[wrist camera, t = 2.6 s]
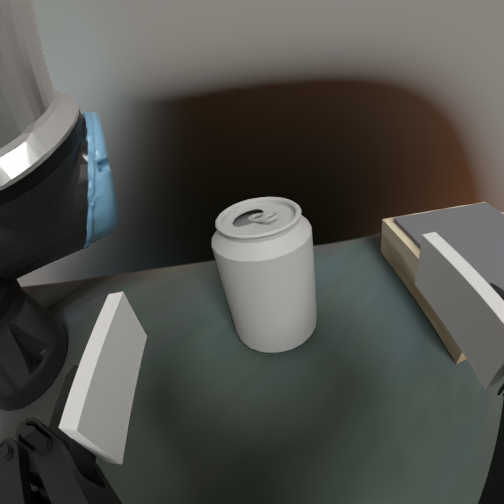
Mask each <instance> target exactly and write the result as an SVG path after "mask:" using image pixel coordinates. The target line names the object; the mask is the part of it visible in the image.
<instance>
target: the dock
mask: <svg viewBox="0 0 504 504" xmlns="http://www.w3.org/2000/svg"><path fill="white" fill-rule="evenodd" d="M432 232H436V233H437V234H438V235H439V236H440V237H442V238H443V239H444V240H445V241H446V242H447V243H448V244H449V245H450V246H451V247H452V248H453V249H454V250H455V251H457V252H458V253H459V254H460V255H461V256H462V257H463V258H464V259H465V260H466V261H467V262H468V263H469V264H470V265H471V266H472V267H473V268H474V269H475V270H476V271H477V272H478V273H479V274H480V275H481V276H482V278H483V279H484V280H485V281H486V282H487V283H488V284H490V283H493V284H495V285H496V286H498V287H500V288H501V289H502V290H503V291H504V215H503V214H502V213H501V212H499V211H498V210H496V209H495V208H494V207H492V206H491V205H489V204H488V203H486V202H482V203H476V204H469V205H464V206H458V207H451V208H445V209H440V210H434V211H428V212H422V213H416V214H411V215H404V216H398V217H393V218H387V219H383V220H382V236H381V251H380V252H381V253H382V255H383V256H384V257H385V258H386V260H387V261H388V262H389V264H390V265H391V266H392V268H393V269H394V271H395V272H396V273H397V275H398V276H399V277H400V279H401V280H402V282H403V283H404V284H405V286H406V287H407V289H408V290H409V291H410V293H411V294H412V296H413V297H414V299H415V300H416V302H417V303H418V304H419V306H420V307H421V309H422V310H423V312H424V313H425V315H426V316H427V318H428V319H429V321H430V322H431V324H432V326H433V327H434V329H435V330H436V332H437V333H438V335H439V337H440V338H441V340H442V341H443V343H444V345H445V346H446V348H447V350H448V351H449V353H450V354H451V356H452V358H453V360H454V361H455V363H456V364H458V363H460V362H462V361H464V360H466V357H465V355H464V354H463V352H462V351H461V349H460V348H459V346H458V344H457V343H456V341H455V340H454V338H453V337H452V335H451V334H450V332H449V331H448V330H447V328H446V327H445V325H444V324H443V322H442V321H441V319H440V318H439V317H438V315H437V314H436V312H435V311H434V309H433V308H432V307H431V305H430V304H429V303H428V301H427V300H426V299H425V297H424V296H423V294H422V293H421V292H420V290H419V289H418V288H417V286H416V285H415V279H416V273H417V267H418V261H419V254H420V247H421V239H422V234H427V233H432Z"/></svg>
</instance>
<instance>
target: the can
mask: <svg viewBox="0 0 504 504" xmlns="http://www.w3.org/2000/svg"><path fill="white" fill-rule="evenodd" d="M216 228H217V231H216V233H215V234H214V236H213V237H212V249H213V252H214V256H215V259H216V263H217V267H218V270H219V274H220V277H221V281H222V284H223V288H224V291H225V295H226V298H227V301H228V305H229V308H230V311H231V315H232V318H233V322H234V325H235V328H236V331H237V334H238V336H239V337H240V339H241V341H242V342H243V343H244V344H246V345H247V346H248V347H250V348H252V349H255V350H258V351H261V352H269V353H278V352H283V351H287V350H291V349H293V348H295V347H297V346H299V345H301V344H302V343H304V342H305V341H306V340H307V339H308V338H309V337H310V336H311V335H312V333H313V331H314V329H315V327H316V292H315V272H314V256H313V241H312V228H311V225H310V223H309V222H308V220H307V219H306V218H304V217H303V216H302V215H301V209H300V207H299V206H298V204H296V203H295V202H293V201H291V200H288V199H285V198H279V197H262V198H255V199H249V200H246V201H242V202H239V203H237V204H234V205H232V206H231V207H229V208H227V209H226V210H224V211H223V212H222V213H221V214H220V215H219V216H218V218H217V219H216Z"/></svg>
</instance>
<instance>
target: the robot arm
mask: <svg viewBox="0 0 504 504" xmlns="http://www.w3.org/2000/svg"><path fill="white" fill-rule="evenodd" d="M108 163H109V160H108V156H107V148H106V143H105V138H104V134H103V129H102V124H101V120H100V117H99V115H98V114H97V113H96V112H90V113H89V112H87V113H86V112H84V113H83V114H82V115H81V113H80V110H79V106H78V103H77V101H76V100H75V99H74V97H72V96H70V95H68V94H65V93H61V92H57V91H55V90H54V89H53V87H52V83H51V80H50V76H49V73H48V69H47V66H46V62H45V58H44V54H43V50H42V46H41V42H40V37H39V33H38V28H37V23H36V18H35V13H34V7H33V1H32V0H0V409H3V410H15V409H19V408H22V407H24V406H26V405H28V404H30V403H31V402H33V401H34V400H35V399H37V398H38V397H39V396H40V395H41V394H42V393H43V392H44V391H45V390H46V389H47V388H48V387H49V386H50V384H51V383H52V382H53V380H54V379H55V377H56V376H57V374H58V372H59V371H60V369H61V367H62V364H63V362H64V359H65V356H66V352H67V335H66V333H65V330H64V329H63V327H62V326H61V325H60V323H59V322H58V320H57V319H56V317H55V316H54V315H53V314H52V313H51V312H49V311H48V310H47V309H46V308H44V307H43V306H42V305H41V304H39V303H38V302H37V301H36V300H35V299H34V298H32V297H31V296H30V295H29V294H28V293H27V292H25V291H24V290H23V289H22V288H21V286H20V285H19V283H18V281H17V278H19V277H21V276H23V275H26V274H28V273H30V272H32V271H34V270H36V269H38V268H41V267H43V266H45V265H47V264H49V263H51V262H54V261H56V260H58V259H60V258H63V257H65V256H67V255H69V254H72V253H74V252H76V251H79V250H81V249H85V248H87V247H89V245H90V244H91V243H93V242H95V241H97V240H99V239H101V238H103V237H105V236H107V235H109V234H110V233H111V232H113V231H114V229H115V228H116V226H117V224H118V219H119V213H118V207H117V206H118V205H117V200H116V195H115V189H114V184H113V179H112V175H111V170H110V167H109V164H108ZM415 285H416V286H417V288H418V289H419V290H420V292H421V293H422V294H423V296H424V297H425V299H426V300H427V301H428V303H429V304H430V305H431V307H432V308H433V309H434V311H435V312H436V314H437V315H438V317H439V318H440V319H441V321H442V322H443V324H444V325H445V327H446V328H447V330H448V331H449V332H450V334H451V335H452V337H453V338H454V340H455V341H456V343H457V344H458V346H459V348H460V349H461V351H462V352H463V354H464V355H465V357H466V359H467V360H468V362H469V363H470V365H471V367H472V368H473V370H474V371H475V373H476V375H477V377H478V378H479V380H480V382H481V383H482V385H483V387H484V389H485V390H486V389H487V388H489V387H491V386H492V385H494V384H496V383H497V382H499V381H500V379H501V378H502V376H503V375H504V291H503V290H502V289H501V288H500V287H498V286H496V285H495V284H493V283H490V284H488V283H487V282H486V281H485V280H484V279H483V278H482V276H481V275H480V274H479V273H478V272H477V271H476V270H475V269H474V268H473V267H472V266H471V265H470V264H469V263H468V262H467V261H466V260H465V259H464V258H463V257H462V256H461V255H460V254H459V253H458V252H457V251H455V250H454V249H453V248H452V247H451V246H450V245H449V244H448V243H447V242H446V241H445V240H444V239H443V238H442V237H440V236H439V235H438V234H437V233H436V232H432V233H427V234H422V239H421V247H420V254H419V261H418V267H417V273H416V279H415ZM146 338H147V335H146V333H145V332H144V330H143V328H142V326H141V325H140V323H139V321H138V319H137V317H136V315H135V313H134V312H133V310H132V308H131V306H130V304H129V302H128V300H127V298H126V296H125V294H124V292H119V293H113V294H109V295H108V297H107V299H106V301H105V303H104V306H103V308H102V310H101V312H100V315H99V317H98V319H97V322H96V324H95V327H94V329H93V331H92V334H91V336H90V339H89V341H88V344H87V346H86V349H85V351H84V354H83V357H82V359H81V362H80V365H79V366H73V368H72V369H71V370H70V372H69V373H68V374H67V376H66V378H65V381H64V384H63V386H62V387H63V389H61V392H60V395H59V396H60V398H58V401H57V404H56V407H55V410H54V413H53V416H52V419H51V422H50V426H49V428H47V427H46V426H45V425H44V424H43V423H42V422H40V421H39V420H38V419H36V418H28V419H26V420H24V421H23V422H22V423H21V424H20V426H19V427H18V429H17V433H16V441H15V440H13V439H11V438H6V439H5V440H3V441H2V442H1V443H0V500H1V504H122V503H121V501H120V500H119V498H118V497H117V495H116V494H115V492H114V490H113V489H112V487H111V486H110V484H109V482H108V481H107V479H106V478H105V476H104V474H103V472H102V471H101V469H100V467H99V466H98V465H97V464H96V463H95V461H96V457H98V458H99V459H101V460H102V461H104V462H105V463H113V464H122V463H123V456H124V449H125V443H126V437H127V431H128V425H129V419H130V413H131V408H132V403H133V398H134V392H135V388H136V383H137V378H138V373H139V369H140V364H141V360H142V355H143V351H144V346H145V342H146ZM503 390H504V384H503V385H502V386H501V388H500V389H499V391H498V394H497V395H500V394H501V392H502V391H503ZM503 396H504V394H503ZM30 483H31V484H32V485H34V488H35V489H34V491H32V490H31V485H30ZM478 504H504V400H503V407H502V414H501V420H500V426H499V431H498V436H497V441H496V445H495V450H494V454H493V458H492V462H491V465H490V469H489V472H488V476H487V479H486V482H485V485H484V488H483V491H482V494H481V497H480V500H479V503H478Z"/></svg>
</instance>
